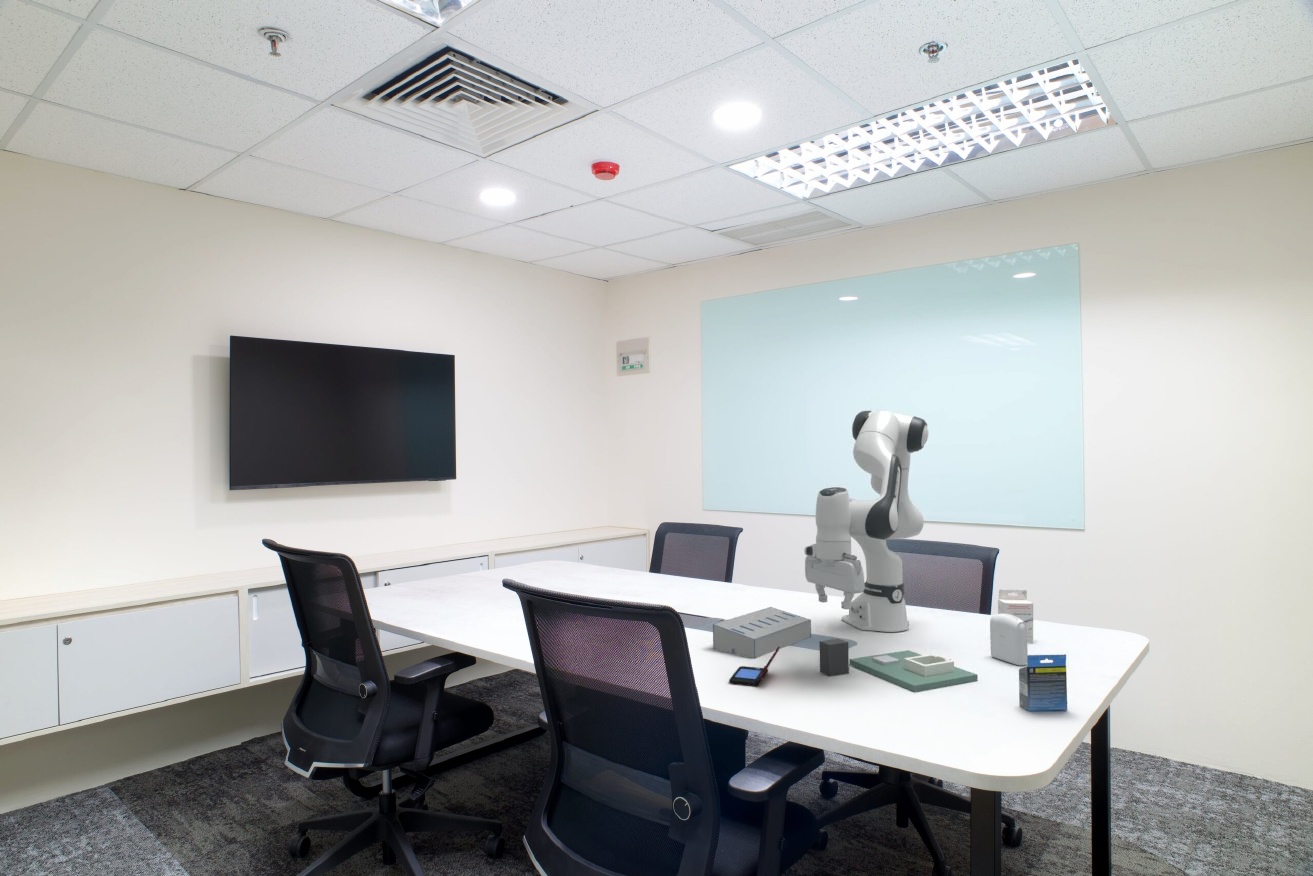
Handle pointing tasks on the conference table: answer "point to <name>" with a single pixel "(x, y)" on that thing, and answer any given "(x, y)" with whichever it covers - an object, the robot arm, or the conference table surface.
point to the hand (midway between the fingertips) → (834, 605)
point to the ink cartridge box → (1017, 608)
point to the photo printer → (1008, 639)
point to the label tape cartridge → (1043, 683)
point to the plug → (834, 657)
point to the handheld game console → (751, 674)
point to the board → (914, 670)
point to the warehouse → (760, 632)
